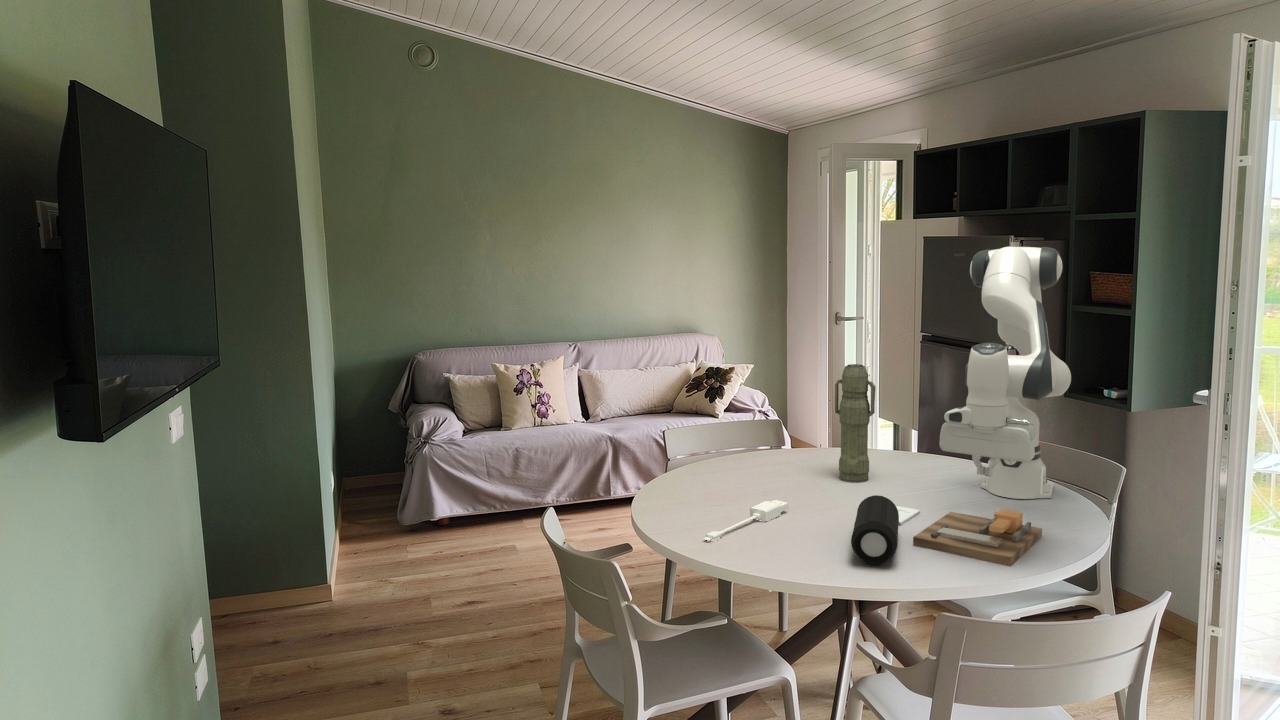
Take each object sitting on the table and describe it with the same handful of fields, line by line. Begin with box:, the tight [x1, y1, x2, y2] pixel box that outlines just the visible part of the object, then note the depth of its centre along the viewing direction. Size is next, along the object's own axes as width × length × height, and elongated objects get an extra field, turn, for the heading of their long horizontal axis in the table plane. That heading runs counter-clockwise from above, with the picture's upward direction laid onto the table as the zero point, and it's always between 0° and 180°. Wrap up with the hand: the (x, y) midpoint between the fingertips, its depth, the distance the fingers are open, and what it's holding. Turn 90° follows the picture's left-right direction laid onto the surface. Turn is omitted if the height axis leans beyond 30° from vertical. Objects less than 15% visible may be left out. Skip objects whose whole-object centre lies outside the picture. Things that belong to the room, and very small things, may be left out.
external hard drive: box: [895, 505, 921, 527], centre depth 219 cm, size 2×8×12 cm
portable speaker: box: [850, 495, 899, 565], centre depth 195 cm, size 26×10×10 cm, turn 162°
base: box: [912, 511, 1043, 567], centre depth 199 cm, size 24×22×4 cm
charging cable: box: [702, 499, 789, 542], centre depth 214 cm, size 5×32×3 cm, turn 136°
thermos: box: [834, 363, 876, 484], centre depth 253 cm, size 9×12×35 cm
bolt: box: [989, 508, 1024, 534], centre depth 198 cm, size 12×5×4 cm, turn 140°
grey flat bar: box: [937, 527, 1004, 547], centre depth 195 cm, size 4×14×1 cm, turn 50°
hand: (985, 475), depth 191 cm, fingers closed
